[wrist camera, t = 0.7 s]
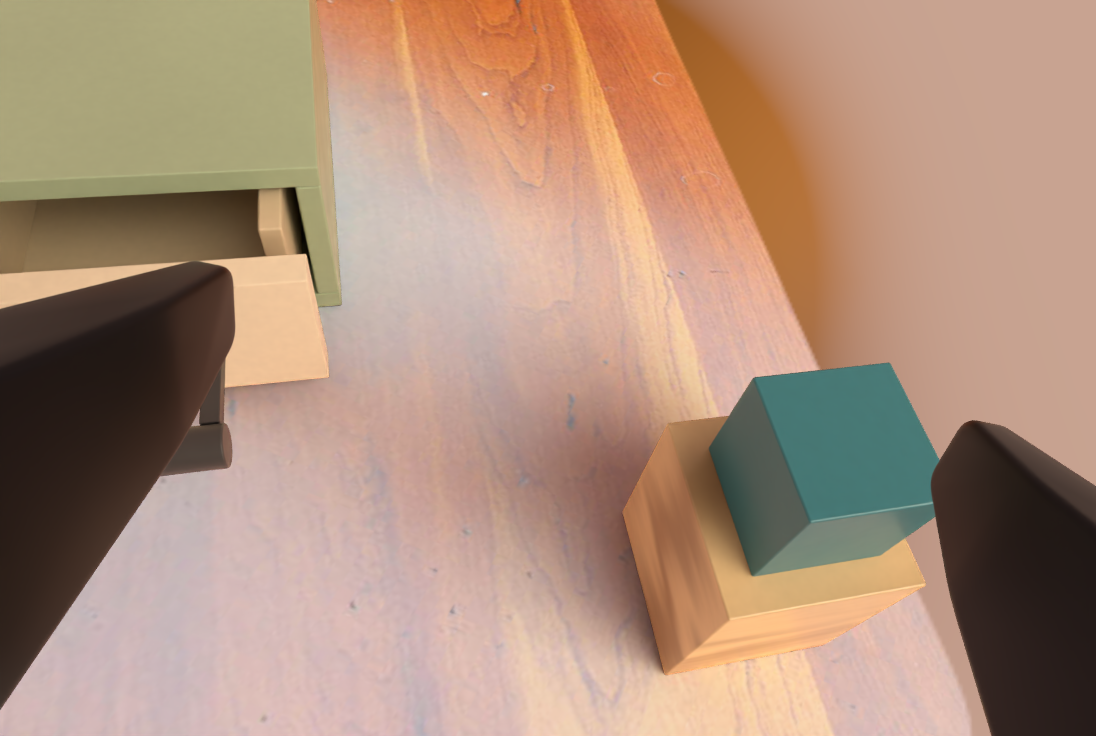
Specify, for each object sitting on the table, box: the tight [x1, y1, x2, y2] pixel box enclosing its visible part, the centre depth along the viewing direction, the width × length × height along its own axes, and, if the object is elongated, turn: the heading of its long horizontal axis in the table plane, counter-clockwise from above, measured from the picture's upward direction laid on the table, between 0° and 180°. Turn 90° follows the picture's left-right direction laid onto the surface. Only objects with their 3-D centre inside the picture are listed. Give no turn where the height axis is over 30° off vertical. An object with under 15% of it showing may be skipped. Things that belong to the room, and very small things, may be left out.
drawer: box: [0, 187, 329, 476], centre depth 28 cm, size 20×13×6 cm, turn 11°
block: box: [709, 363, 940, 577], centre depth 21 cm, size 4×4×4 cm
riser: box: [623, 416, 926, 675], centre depth 25 cm, size 6×6×7 cm
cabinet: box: [0, 0, 342, 307], centre depth 32 cm, size 16×14×8 cm
